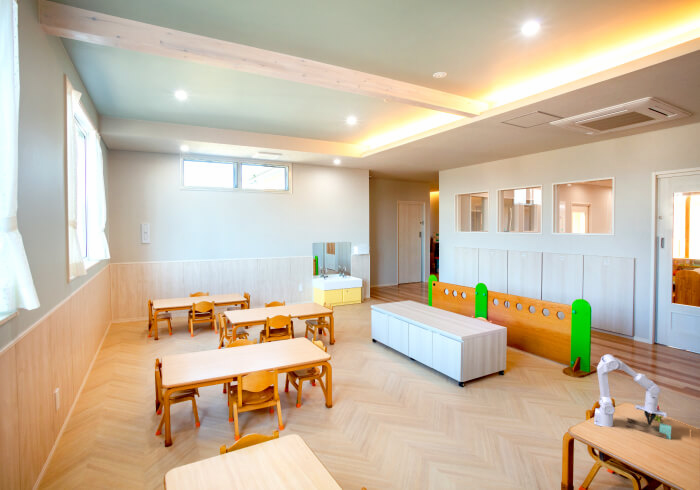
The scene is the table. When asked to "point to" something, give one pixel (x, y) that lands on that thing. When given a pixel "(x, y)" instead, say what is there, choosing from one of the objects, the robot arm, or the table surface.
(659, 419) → the bird rattle
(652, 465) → the table surface
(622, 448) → the table surface
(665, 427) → the block
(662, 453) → the table surface
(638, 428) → the chute
